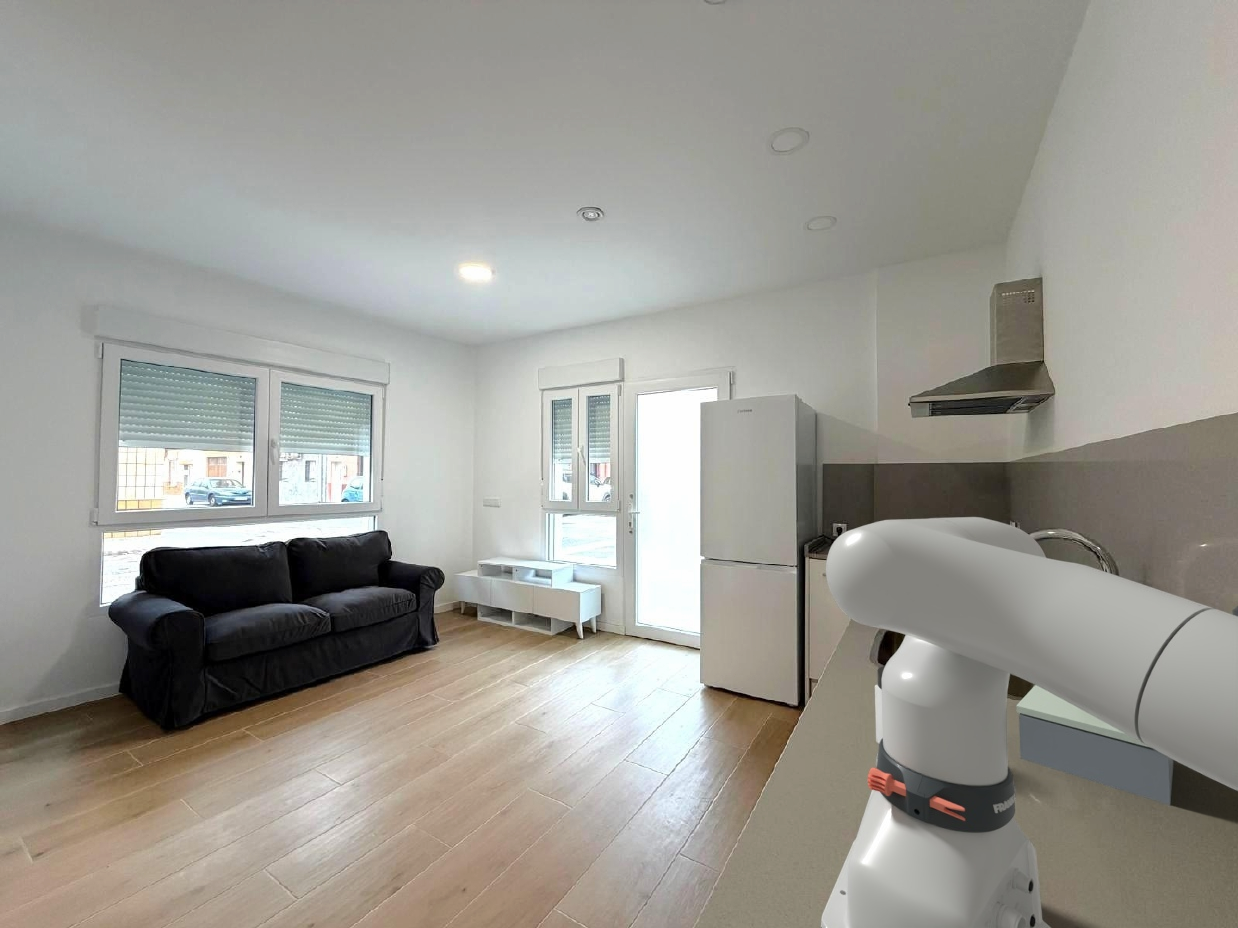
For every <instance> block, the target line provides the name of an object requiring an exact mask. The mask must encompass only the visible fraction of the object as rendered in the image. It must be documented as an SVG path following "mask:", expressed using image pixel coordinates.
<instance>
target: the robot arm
mask: <svg viewBox="0 0 1238 928" xmlns="http://www.w3.org/2000/svg"><path fill="white" fill-rule="evenodd" d="M825 577H826V582H827V587H828V590H829V593H830V594H831V597H832V599H833V600H834V602H835V604H836V605H837V607H838V608H839V609H840V610H841V612H842V613H844V614H845V615H846V616H847V617H848V618H849V619H850V620H853V621H854V622H856V623H858V624H860V625H863V626H867V627H873V628H876V629H877V628H878V629H882V630H887V631H891V632H895V633H900V634H903V635H905V636H904V638H903V641H902V642H901V644H900V646H899V648H898V649H897V650H896V652H895V653H894V654H893V655H892V656H891V657H890V658H888V659H889V660H888V661H886V664H885V665H884V666H885V668H884V670H883V674H882V680H881V681H882V725H883V738H882V739H881V741H880V743H879V744H878V749H877V750H878V752H877V754H876V758H875V767H871V768H870V770H869V771H868V776H867V786H868V788H869V789H870V790H871V792H870V795H869V798H868V801H867V803H866V806H865V810H864V814H863V816H862V819H861V822H860V826H859V828H858V831H857V834H856V838H855V839H854V840H853V842H852V844H851V847H850V849H849V852H848V854H847V856H846V858H845V861H844V863H843V865H842V868H841V870H840V873H839V875H838V877H837V880H836V881H835V884H834V886H833V888H832V892H831V893H830V896H829V898H828V901H827V903H826V905H825V908H824V910H823V912H822V914H821V920H820V928H821V927H822V928H1052V927H1051V926H1050V925H1048V924H1047V922H1045V921H1044V920H1043V912H1042V902H1041V891H1040V890H1041V888H1040V878H1039V870H1038V869H1039V868H1038V859H1037V857H1038V856H1037V850H1036V846H1035V845H1034V844H1033V843H1032V841H1031V840H1030V839H1029V838H1028V837H1027V836H1026V833H1024V832H1023V829H1021V828H1020V826H1019V824H1018V822H1017V821H1016V819H1015V814H1016V800H1017V799H1016V798H1017V795H1016V794H1017V792H1016V791H1017V789H1016V785H1015V783H1014V775H1013V771H1012V769H1010V767H1009V764H1008V763H1009V762H1008V720H1007V719H1008V718H1007V706H1008V705H1007V700H1008V699H1007V698H1008V689H1009V684H1010V683H1009V681H1010V677H1011V675H1012V676H1015V677H1018V678H1019V679H1022V680H1024V681H1026V682H1028V683H1031V684H1033V685H1034V686H1035V685H1037V686H1039V687H1041V688H1043V689H1045V690H1046V691H1048V692H1050V693H1052V694H1054V695H1056V696H1057V697H1059V698H1061V699H1063V700H1065V701H1067V702H1068V703H1070V704H1072V705H1074V706H1076V707H1078V708H1080V709H1081V710H1083V711H1085V712H1087V713H1089V714H1091V715H1092V716H1094V717H1096V718H1098V719H1100V720H1102V721H1103V722H1105V723H1107V724H1109V725H1111V726H1113V727H1114V728H1116V729H1118V730H1120V731H1122V732H1124V733H1125V734H1127V735H1129V736H1131V737H1133V738H1134V739H1136V740H1138V741H1140V742H1142V743H1144V744H1146V745H1147V746H1149V747H1151V748H1153V749H1154V750H1156V751H1158V752H1160V753H1162V754H1164V755H1166V756H1168V757H1169V758H1171V759H1173V761H1175V762H1177V763H1179V764H1181V765H1183V766H1185V767H1187V768H1189V769H1191V770H1193V771H1195V772H1197V773H1200V774H1202V775H1203V776H1205V777H1207V778H1209V779H1211V780H1213V781H1216V782H1218V783H1220V784H1222V785H1224V786H1226V787H1227V788H1230V789H1232V790H1235V791H1237V792H1238V605H1237V606H1236V607H1234V609H1232V610H1231V612H1232V613H1230V612H1229V613H1228V612H1226V611H1223V610H1221V609H1217V608H1215V607H1212V606H1208V605H1205V604H1202V603H1200V602H1196V601H1194V600H1190V599H1188V598H1185V597H1182V596H1179V595H1176V594H1173V593H1169V592H1167V591H1163V590H1160V589H1157V588H1155V587H1153V586H1152V587H1151V586H1149V585H1145V584H1143V583H1140V582H1137V581H1133V580H1131V579H1128V578H1125V577H1122V576H1119V575H1116V574H1113V573H1110V572H1107V571H1105V570H1101V569H1098V568H1094V567H1092V566H1089V565H1086V564H1080V563H1077V562H1071V561H1070V562H1069V561H1065V560H1064V561H1063V560H1058V559H1053V558H1048V557H1047V556H1046V554H1045V552H1044V551H1043V549H1042V547H1041V545H1040V544H1039V543H1038V542H1037V541H1036V540H1035V539H1034V538H1033V537H1032V536H1031V535H1030V534H1028V533H1027V532H1025V531H1024V530H1022V529H1020V528H1018V527H1016V526H1013V525H1011V524H1008V523H1004V522H1000V521H997V520H992V519H989V518H986V517H985V518H984V517H978V516H965V517H964V516H963V517H962V516H961V517H959V516H958V517H930V518H911V519H910V518H909V519H908V518H906V519H905V518H904V519H901V518H900V519H884V520H880V521H875V522H872V523H868V524H864V525H862V526H859V527H856V528H853V529H849V530H847V531H845V532H843V533H842V534H840V535H839V536H838V537H837V538H836V539H835V540H834V541H833V543H832V544H831V546H830V548H829V551H828V554H827V557H826V563H825Z"/></svg>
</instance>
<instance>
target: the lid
mask: <svg viewBox="0 0 1238 928" xmlns="http://www.w3.org/2000/svg"><path fill="white" fill-rule="evenodd" d="M1015 707H1016V713H1018V714H1020V713H1022V714H1026V715H1029V716H1033V717H1037V718H1041V719H1044V720H1048V721H1052V722H1056V723H1060V724H1063V725H1067V726H1071V727H1075V728H1078V729H1082V730H1086V731H1090V732H1094V733H1097V734H1101V735H1105V736H1109V737H1112V738H1116V739H1120V740H1124V741H1127V742H1131V743H1135V744H1139V745H1143V746H1146V747H1149V746H1147V745H1146V744H1144V743H1142V742H1140V741H1138V740H1136V739H1134V738H1133V737H1131V736H1129V735H1127V734H1125V733H1124V732H1122V731H1120V730H1118V729H1116V728H1114V727H1113V726H1111V725H1109V724H1107V723H1105V722H1103V721H1102V720H1100V719H1098V718H1096V717H1094V716H1092V715H1091V714H1089V713H1087V712H1085V711H1083V710H1081V709H1080V708H1078V707H1076V706H1074V705H1072V704H1070V703H1068V702H1067V701H1065V700H1063V699H1061V698H1059V697H1057V696H1056V695H1054V694H1052V693H1050V692H1048V691H1046V690H1045V689H1043V688H1041V687H1039V686H1037V685H1035V684H1034V685H1033V687H1031V689H1030V690H1029V691H1028V692H1027V694H1026V695H1025V696H1024V697H1023V698H1022V699H1021V700H1020V701H1019V702H1018V703H1017V704H1016V706H1015ZM1150 748H1151V747H1150Z"/></svg>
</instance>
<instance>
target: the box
mask: <svg viewBox="0 0 1238 928" xmlns="http://www.w3.org/2000/svg"><path fill="white" fill-rule="evenodd" d="M1018 727H1019V753H1020V754H1019V756H1020V759H1021V760H1024V761H1027V762H1030V763H1034V764H1037V765H1041V766H1044V767H1047V768H1050V769H1053V770H1056V771H1060V772H1062V773H1066V774H1069V775H1072V776H1076V777H1078V778H1081V779H1086V780H1088V781H1090V782H1095V783H1098V784H1101V785H1104V786H1107V787H1110V788H1114V789H1118V790H1120V791H1124V792H1127V793H1131V794H1133V795H1136V796H1139V797H1143V798H1146V799H1149V800H1151V799H1153V800H1152V801H1155V800H1156V801H1155V802H1158V801H1159V802H1158V803H1162V804H1164V805H1167V804H1168V806H1171V800H1172V799H1171V798H1172V787H1173V773H1174V760H1173V759H1171V758H1169V757H1168V756H1166V755H1164V754H1162V753H1160V752H1158V751H1156V750H1154V749H1153V748H1150V747H1146V746H1143V745H1139V744H1135V743H1131V742H1127V741H1124V740H1120V739H1116V738H1112V737H1109V736H1105V735H1101V734H1097V733H1094V732H1090V731H1086V730H1082V729H1078V728H1075V727H1071V726H1067V725H1063V724H1060V723H1056V722H1052V721H1048V720H1044V719H1041V718H1037V717H1033V716H1029V715H1026V714H1022V713H1018Z"/></svg>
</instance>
